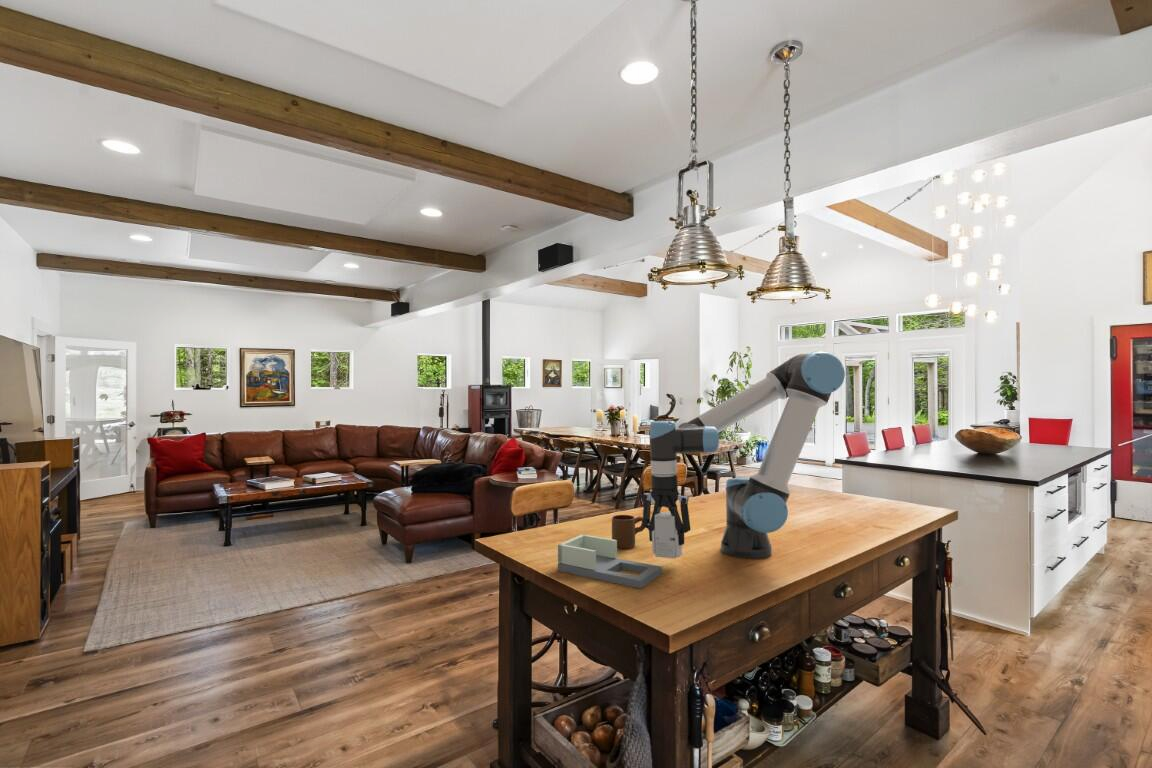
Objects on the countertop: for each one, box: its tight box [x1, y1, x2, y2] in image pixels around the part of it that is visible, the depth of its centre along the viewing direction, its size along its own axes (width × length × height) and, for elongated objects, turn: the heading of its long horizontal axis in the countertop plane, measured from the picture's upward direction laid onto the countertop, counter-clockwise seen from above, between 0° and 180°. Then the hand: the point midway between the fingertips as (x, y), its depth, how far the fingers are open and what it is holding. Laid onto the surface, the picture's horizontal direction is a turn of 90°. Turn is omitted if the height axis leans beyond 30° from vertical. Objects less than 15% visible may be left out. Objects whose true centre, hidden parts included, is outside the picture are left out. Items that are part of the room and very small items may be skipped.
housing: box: [557, 533, 618, 570], centre depth 156 cm, size 12×13×5 cm
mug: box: [611, 514, 646, 550], centre depth 178 cm, size 12×8×9 cm, turn 109°
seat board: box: [557, 555, 663, 590], centre depth 152 cm, size 26×13×2 cm, turn 57°
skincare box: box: [654, 511, 678, 559], centre depth 157 cm, size 6×4×12 cm
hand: (667, 554), depth 157 cm, fingers closed on skincare box, 6 cm apart
